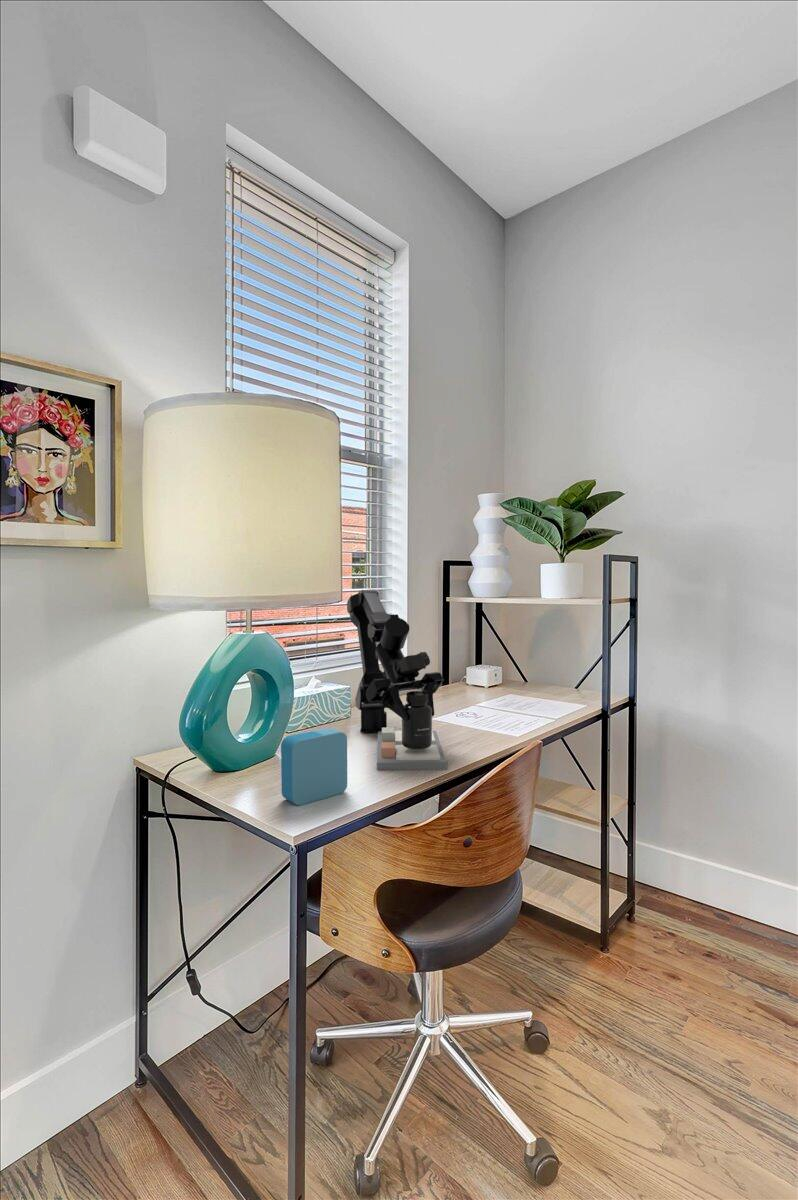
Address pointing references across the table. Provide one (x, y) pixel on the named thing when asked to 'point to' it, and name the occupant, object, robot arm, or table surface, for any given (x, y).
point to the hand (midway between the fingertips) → (420, 717)
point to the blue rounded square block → (313, 765)
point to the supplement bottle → (417, 721)
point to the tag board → (407, 753)
